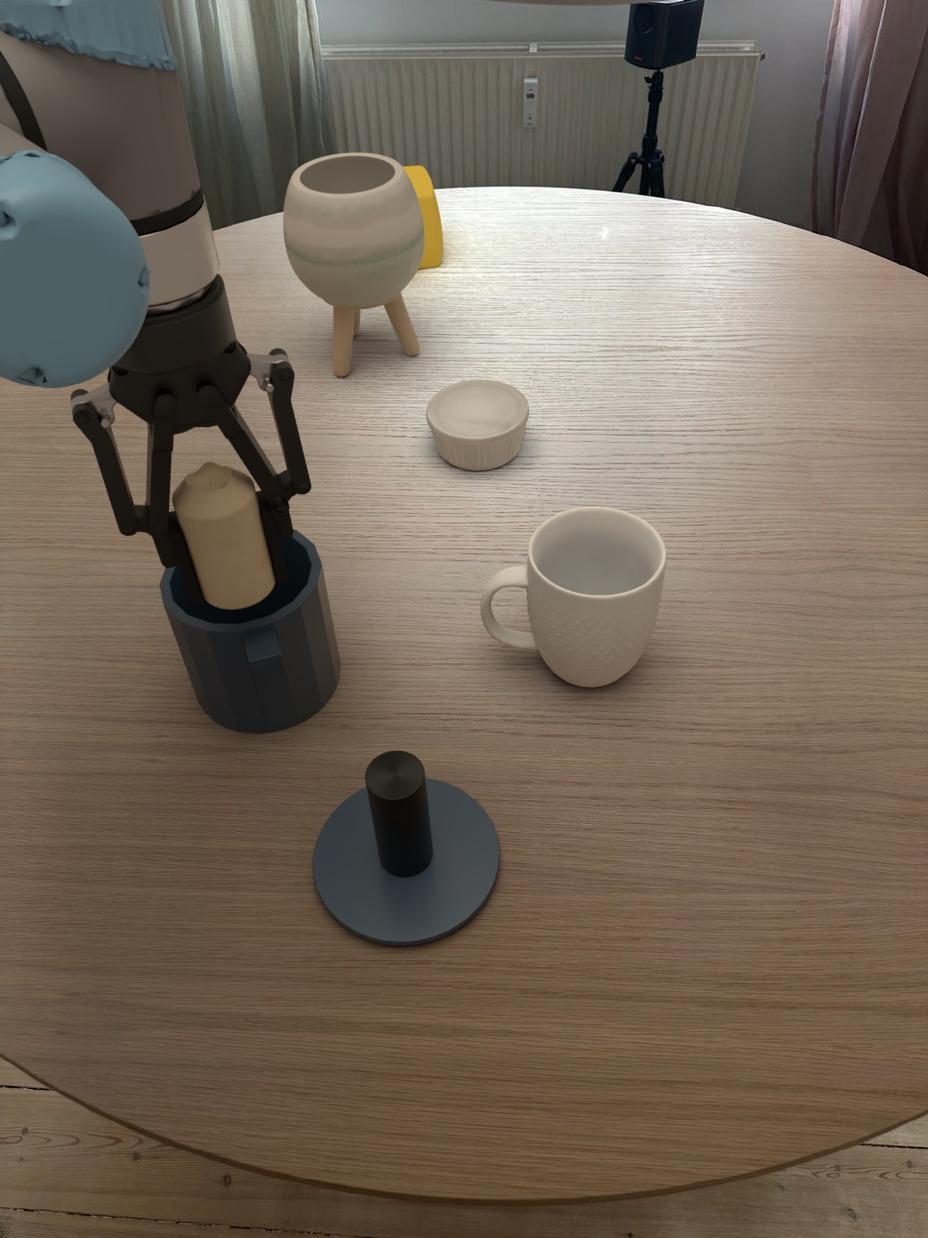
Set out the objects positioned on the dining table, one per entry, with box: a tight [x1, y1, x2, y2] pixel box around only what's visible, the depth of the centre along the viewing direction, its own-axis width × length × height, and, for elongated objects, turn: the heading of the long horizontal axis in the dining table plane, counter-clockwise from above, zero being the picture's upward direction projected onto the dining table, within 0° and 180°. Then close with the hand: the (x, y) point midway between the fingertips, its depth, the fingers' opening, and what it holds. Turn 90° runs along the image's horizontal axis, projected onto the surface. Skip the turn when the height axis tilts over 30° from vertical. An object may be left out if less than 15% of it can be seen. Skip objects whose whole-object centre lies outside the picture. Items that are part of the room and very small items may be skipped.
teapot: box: [402, 164, 444, 270], centre depth 139 cm, size 20×12×12 cm, turn 9°
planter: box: [282, 152, 425, 378], centre depth 116 cm, size 16×16×22 cm
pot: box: [159, 528, 341, 734], centre depth 82 cm, size 13×18×12 cm
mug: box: [479, 506, 667, 688], centre depth 82 cm, size 15×11×13 cm
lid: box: [312, 749, 501, 946], centre depth 69 cm, size 14×14×11 cm
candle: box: [171, 461, 275, 609], centre depth 69 cm, size 6×6×10 cm
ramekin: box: [425, 379, 530, 472], centre depth 108 cm, size 11×11×5 cm
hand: (237, 580), depth 72 cm, fingers closed on candle, 5 cm apart
